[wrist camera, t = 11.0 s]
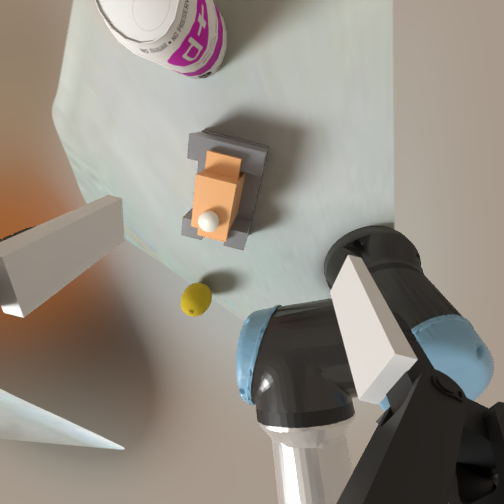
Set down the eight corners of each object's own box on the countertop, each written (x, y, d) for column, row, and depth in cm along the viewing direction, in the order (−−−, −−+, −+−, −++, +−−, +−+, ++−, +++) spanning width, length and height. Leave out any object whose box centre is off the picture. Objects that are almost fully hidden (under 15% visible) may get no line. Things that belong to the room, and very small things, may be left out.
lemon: (188, 293, 51) (173, 320, 44) (191, 272, 49) (175, 297, 42) (213, 299, 51) (202, 328, 44) (217, 279, 49) (206, 306, 42)
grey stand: (268, 146, 36) (266, 151, 31) (248, 235, 43) (243, 251, 38) (203, 130, 36) (189, 131, 31) (193, 221, 43) (181, 236, 38)
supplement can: (241, 39, 30) (210, -22, 17) (200, 94, 34) (148, 79, 21) (192, -25, 28) (112, -149, 15) (153, 41, 31) (61, -13, 18)
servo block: (249, 153, 36) (238, 165, 27) (235, 226, 42) (222, 255, 33) (216, 145, 36) (194, 153, 27) (207, 219, 42) (186, 246, 33)
